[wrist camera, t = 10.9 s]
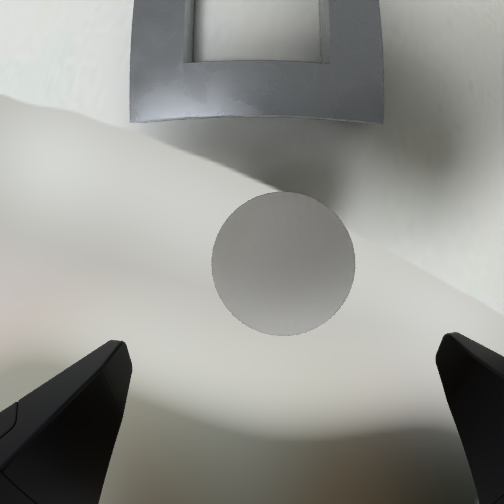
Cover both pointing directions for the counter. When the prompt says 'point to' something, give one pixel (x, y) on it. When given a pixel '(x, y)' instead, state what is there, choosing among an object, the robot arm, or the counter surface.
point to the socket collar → (256, 70)
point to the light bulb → (283, 263)
